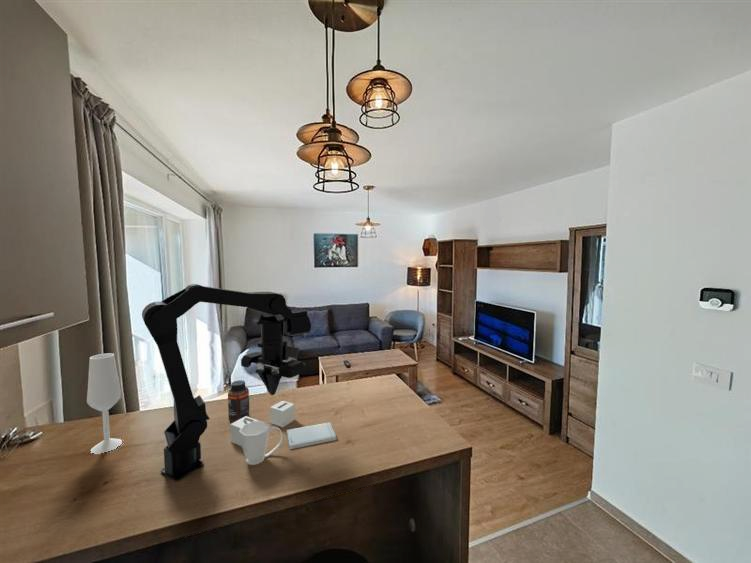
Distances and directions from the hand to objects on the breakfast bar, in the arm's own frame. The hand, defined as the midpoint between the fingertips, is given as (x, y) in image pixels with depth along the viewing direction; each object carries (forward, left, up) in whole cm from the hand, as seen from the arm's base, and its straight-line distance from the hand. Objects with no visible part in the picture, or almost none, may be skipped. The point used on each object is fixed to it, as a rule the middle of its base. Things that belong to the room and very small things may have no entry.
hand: (272, 394), depth 86 cm
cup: (-8, -5, -12) cm, 15 cm away
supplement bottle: (+2, +16, -12) cm, 20 cm away
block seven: (-5, +5, -12) cm, 14 cm away
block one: (+7, +3, -12) cm, 14 cm away
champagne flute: (-24, +34, -12) cm, 44 cm away
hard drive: (+5, -9, -13) cm, 16 cm away
